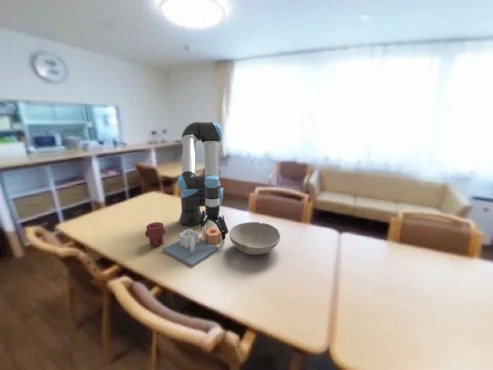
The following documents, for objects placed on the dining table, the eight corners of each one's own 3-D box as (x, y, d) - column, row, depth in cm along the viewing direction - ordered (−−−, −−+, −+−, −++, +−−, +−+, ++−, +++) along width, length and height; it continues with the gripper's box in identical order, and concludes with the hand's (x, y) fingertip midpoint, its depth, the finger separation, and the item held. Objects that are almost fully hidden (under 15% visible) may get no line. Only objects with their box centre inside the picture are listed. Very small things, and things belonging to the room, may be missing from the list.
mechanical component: (170, 241, 131) (160, 250, 121) (153, 238, 133) (142, 248, 123) (168, 220, 127) (158, 229, 118) (151, 218, 129) (140, 226, 120)
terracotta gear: (212, 234, 139) (212, 226, 137) (225, 239, 134) (225, 230, 132) (200, 241, 131) (200, 232, 130) (213, 246, 126) (213, 237, 124)
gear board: (189, 237, 135) (188, 222, 133) (218, 250, 123) (218, 233, 121) (162, 251, 121) (161, 234, 118) (192, 267, 109) (191, 249, 106)
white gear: (187, 236, 133) (187, 227, 131) (202, 240, 129) (201, 231, 127) (176, 244, 124) (175, 235, 123) (191, 249, 120) (190, 239, 119)
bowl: (285, 243, 131) (286, 227, 128) (269, 270, 108) (270, 251, 105) (243, 233, 141) (243, 217, 138) (219, 256, 118) (219, 238, 115)
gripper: (191, 201, 130) (192, 236, 136) (225, 212, 117) (226, 250, 122) (200, 198, 136) (202, 231, 142) (235, 208, 122) (234, 244, 128)
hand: (213, 240), depth 132 cm, fingers open, 13 cm apart
